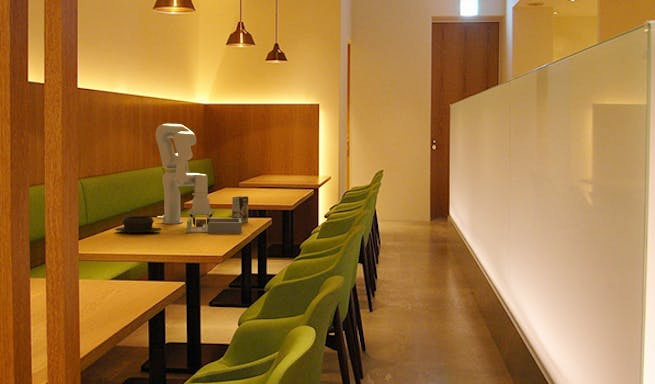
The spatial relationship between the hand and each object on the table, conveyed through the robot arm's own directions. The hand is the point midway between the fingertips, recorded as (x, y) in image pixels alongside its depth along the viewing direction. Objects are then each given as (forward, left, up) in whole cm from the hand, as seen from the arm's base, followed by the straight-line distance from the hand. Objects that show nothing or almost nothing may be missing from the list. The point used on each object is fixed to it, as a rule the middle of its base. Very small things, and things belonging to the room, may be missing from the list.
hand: (201, 225), depth 433 cm
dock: (+14, -18, -1) cm, 23 cm away
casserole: (-33, -24, -1) cm, 41 cm away
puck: (0, 0, -1) cm, 1 cm away
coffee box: (+23, +18, -1) cm, 29 cm away
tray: (+4, -18, -1) cm, 18 cm away
